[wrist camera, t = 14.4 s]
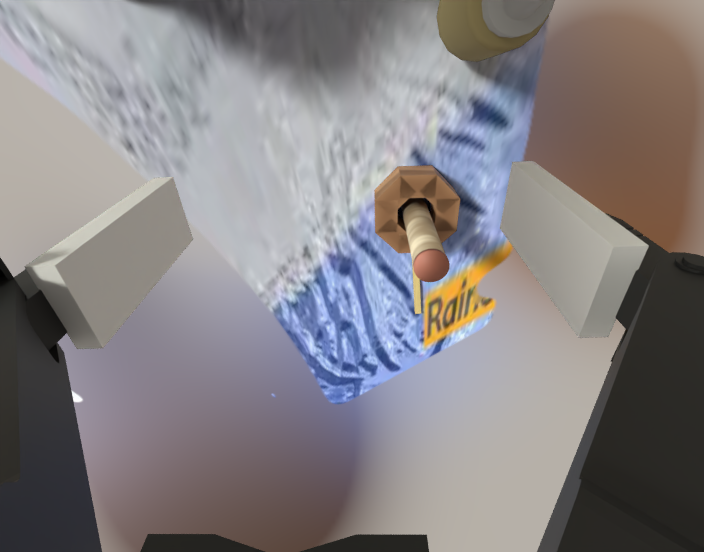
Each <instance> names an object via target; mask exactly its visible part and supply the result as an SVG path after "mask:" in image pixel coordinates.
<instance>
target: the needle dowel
mask: <svg viewBox="0 0 704 552" xmlns="http://www.w3.org/2000/svg"><path fill="white" fill-rule="evenodd" d="M401 209H402V214H403V219H404V223H405V228H406V233H407V237H408V242H409V247H410V251H411V256H412V261H413V268H414V272H415V274H416V276H417V277H418V278H419V279H421V280H422V281H425V282H435V281H438V280H440V279H442V278H443V277H444V276H445V275H446V274H447V272H448V270H449V261H448V258H447V256H446V254H445V252H444V249H443V247H442V244H441V241H440V239H439V236H438V234H437V231H436V228H435V226H434V223H433V221H432V218H431V215H430V213H429V210H428V208H427V205H426V202H425V200H424V199H423V198H409V199H408V200H407V201H406V202H405V203H404V204H403V205H402V206H401Z"/></svg>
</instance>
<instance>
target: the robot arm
mask: <svg viewBox="0 0 704 552" xmlns="http://www.w3.org/2000/svg"><path fill="white" fill-rule="evenodd" d="M500 229H501V230H502V232H503V233H504V235H505V236H506V237H507V239H508V240H509V242H510V243H511V244H512V246H513V247H514V249H515V250H516V251H517V253H518V254H519V255H520V257H521V258H522V260H523V261H524V262H525V264H526V265H527V267H528V268H529V269H530V271H531V272H532V274H533V275H534V276H535V278H536V279H537V281H538V282H539V283H540V285H541V286H542V287H543V289H544V290H545V292H546V293H547V294H548V296H549V297H550V299H551V300H552V301H553V303H554V304H555V305H556V307H557V308H558V310H559V311H560V312H561V314H562V315H563V316H564V318H565V320H566V321H567V322H568V324H569V325H570V326H571V328H572V329H573V330H574V332H575V333H576V335H577V336H578V338H589V337H608V336H609V334H610V331H611V330H612V327H613V325H614V323H615V321H616V319H617V320H618V321H619V322H620V323H621V324H622V325H623V326H624V327H625V328H626V330H625V333H624V335H623V337H622V339H621V341H620V343H619V345H618V347H617V349H616V351H615V353H614V355H613V357H612V360H611V361H612V364H611V366H610V369H609V371H608V374H607V376H606V379H605V381H604V384H603V386H602V389H601V391H600V394H599V396H598V399H597V401H596V404H595V406H594V409H593V412H592V414H591V417H590V419H589V422H588V424H587V427H586V429H585V432H584V434H583V437H582V439H581V442H580V444H579V447H578V449H577V452H576V455H575V457H574V460H573V462H572V465H571V467H570V470H569V472H568V475H567V477H566V480H565V483H564V485H563V488H562V490H561V493H560V495H559V498H558V500H557V503H556V505H555V508H554V510H553V513H552V515H551V518H550V520H549V523H548V526H547V528H546V530H545V533H544V536H543V538H542V541H541V543H540V546H539V548H538V551H537V552H704V257H703V256H700V255H696V254H690V253H674V252H672V253H668V252H667V251H665V250H664V249H663V248H661V247H660V246H658V245H657V244H656V243H654V242H653V241H651V240H650V239H648V238H647V237H645V236H643V234H641V233H640V232H639V231H637V230H633V227H632V226H630V225H629V224H627V223H626V222H624V221H623V220H621V219H618V218H616V217H614V216H611V215H609V214H606V213H603V212H602V211H601V210H599V209H598V208H597V207H595V206H594V205H593V204H591V203H590V202H588V201H587V200H586V199H584V198H583V197H582V196H580V195H579V194H577V193H576V192H575V191H573V190H572V189H571V188H569V187H568V186H566V185H565V184H564V183H562V182H561V181H560V180H558V179H557V178H555V177H554V176H553V175H551V174H550V173H549V172H547V171H546V170H545V169H543V168H542V167H540V166H539V165H537V164H536V163H535V162H534V161H524V162H512V167H511V172H510V177H509V183H508V188H507V193H506V199H505V204H504V209H503V215H502V220H501V225H500ZM192 240H193V237H192V234H191V232H190V228H189V225H188V222H187V219H186V216H185V213H184V210H183V207H182V204H181V200H180V197H179V194H178V191H177V188H176V185H175V182H174V179H173V177H164V178H153V179H152V180H150V181H149V182H147V183H146V184H144V185H143V186H142V187H140V188H139V189H137V190H136V191H134V192H133V193H131V194H130V195H128V196H127V197H125V198H124V199H123V200H121V201H120V202H118V203H117V204H115V205H114V206H112V207H111V208H109V209H108V210H106V211H105V212H104V213H102V214H101V215H99V216H98V217H96V218H95V219H93V220H92V221H91V222H89V223H87V224H86V225H85V226H83V227H82V228H80V229H79V230H77V231H76V232H74V233H73V234H71V235H70V236H68V237H67V238H66V239H64V240H63V241H61V242H60V243H58V244H57V245H55V246H54V247H52V248H51V249H50V250H48V251H47V252H45V253H44V254H42V255H41V256H39V257H38V258H36V259H35V260H33V261H32V262H31V263H29V264H28V265H26V266H25V268H26V269H25V270H24V271H23V272H21V273H20V274H18V275H17V276H15V277H13V276H12V274H11V273H10V271H9V270H8V268H7V267H6V265H5V264H4V262H3V261H2V259H1V258H0V552H102V549H101V544H100V539H99V533H98V528H97V523H96V518H95V512H94V507H93V502H92V497H91V492H90V487H89V481H88V476H87V470H86V465H85V460H84V455H83V450H82V444H81V439H80V434H79V429H78V424H77V418H76V413H75V408H74V402H73V397H72V392H71V387H70V382H69V376H68V371H67V366H66V360H65V355H64V352H63V350H62V349H61V347H60V346H59V344H58V343H57V342H58V341H59V340H60V339H61V338H62V337H63V336H64V335H65V334H66V333H67V334H68V336H69V337H70V339H71V340H72V342H73V343H74V345H75V347H76V348H77V349H94V348H104V347H105V345H106V344H107V343H108V342H109V340H110V339H111V338H112V337H113V336H114V334H115V333H116V332H117V331H118V329H119V328H120V327H121V326H122V325H123V324H124V322H125V321H126V320H127V319H128V317H129V316H130V315H131V314H132V313H133V311H134V310H135V309H136V308H137V307H138V305H139V304H140V303H141V302H142V301H143V299H144V298H145V297H146V296H147V294H148V293H149V292H150V291H151V290H152V288H153V287H154V286H155V285H156V284H157V282H158V281H159V280H160V279H161V278H162V276H163V275H164V274H165V273H166V272H167V270H168V269H169V268H170V267H171V265H172V264H173V263H174V262H175V261H176V260H177V258H178V257H179V256H180V255H181V253H182V252H183V251H184V250H185V249H186V247H187V246H188V245H189V244H190V243H191V241H192ZM141 552H264V551H261V550H259V549H255V548H253V547H249V546H247V545H244V544H241V543H238V542H235V541H232V540H230V539H227V538H224V537H221V536H218V535H215V534H148V535H147V538H146V540H145V542H144V545H143V547H142V549H141ZM301 552H429V549H428V541H427V535H354V536H350V537H347V538H344V539H340V540H337V541H334V542H331V543H327V544H324V545H321V546H317V547H314V548H311V549H307V550H304V551H301Z"/></svg>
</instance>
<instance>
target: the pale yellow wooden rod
mask: <svg viewBox="0 0 704 552" xmlns="http://www.w3.org/2000/svg"><path fill="white" fill-rule="evenodd" d="M412 267H413V261H412ZM413 286H414V305H415V314H419V313H421V299H420V279H419V278H418V277H417V276H416V274H415V272H414V268H413Z"/></svg>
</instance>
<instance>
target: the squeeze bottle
mask: <svg viewBox="0 0 704 552" xmlns="http://www.w3.org/2000/svg"><path fill="white" fill-rule="evenodd" d="M554 1H555V0H440V2H439V7H438V13H437V22H438V29H439V35H440V38H441V39H442V41H443V43H444V45H445V46H446V48H447V50H448V51H449V52H450V53H452V54H453V55H455V56H456V57H458V58H459V59H461V60H466V61H475V62H478V61H481V60H484V59H487V58H490V57H493V56H496V55H499V54H502V53H505V52H507V51H510V50H513V49H516V48H519V47H521V46H522V45H524V44H525V43H526V42H527V41H529V40H530V39H531V38H532V37H534V36H535V35H536V34H537V33H538V31H539V30H540V28H541V27H542V25H543V24H544V22H545V21H546V19H547V18H548V16H549V13H550V11H551V10H552V7H553V4H554Z"/></svg>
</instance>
